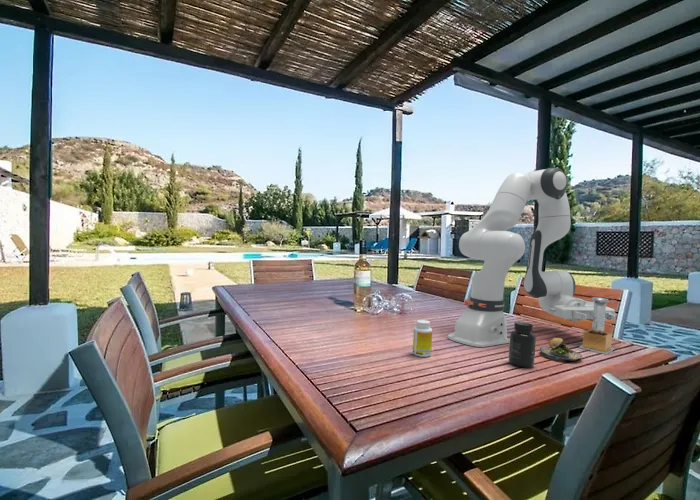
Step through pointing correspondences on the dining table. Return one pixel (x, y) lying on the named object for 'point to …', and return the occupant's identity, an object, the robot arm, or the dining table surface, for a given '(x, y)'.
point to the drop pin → (599, 315)
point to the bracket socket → (597, 342)
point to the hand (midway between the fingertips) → (600, 317)
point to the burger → (558, 351)
